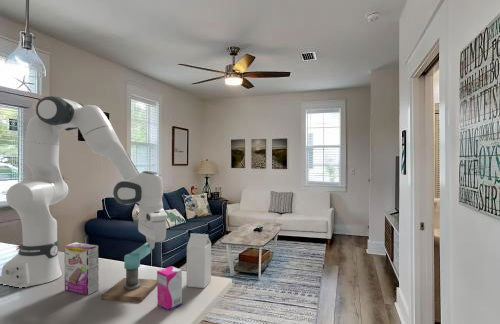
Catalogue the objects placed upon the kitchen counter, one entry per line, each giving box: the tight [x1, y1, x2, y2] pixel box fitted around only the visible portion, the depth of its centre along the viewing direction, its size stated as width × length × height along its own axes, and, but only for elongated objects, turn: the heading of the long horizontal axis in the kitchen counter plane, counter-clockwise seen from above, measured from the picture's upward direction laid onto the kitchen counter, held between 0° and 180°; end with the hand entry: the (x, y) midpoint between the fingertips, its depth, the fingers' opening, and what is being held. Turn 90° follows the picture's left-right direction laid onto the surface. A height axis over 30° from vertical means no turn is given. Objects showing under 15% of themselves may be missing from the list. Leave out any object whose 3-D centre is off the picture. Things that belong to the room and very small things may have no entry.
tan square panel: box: [101, 267, 157, 303], centre depth 106 cm, size 14×14×9 cm
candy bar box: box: [63, 241, 99, 296], centre depth 106 cm, size 11×5×16 cm, turn 71°
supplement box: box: [156, 266, 183, 312], centre depth 96 cm, size 6×6×12 cm
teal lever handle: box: [123, 242, 152, 270], centre depth 112 cm, size 17×5×5 cm, turn 175°
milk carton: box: [186, 233, 212, 289], centre depth 113 cm, size 7×7×19 cm
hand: (150, 248), depth 116 cm, fingers closed
